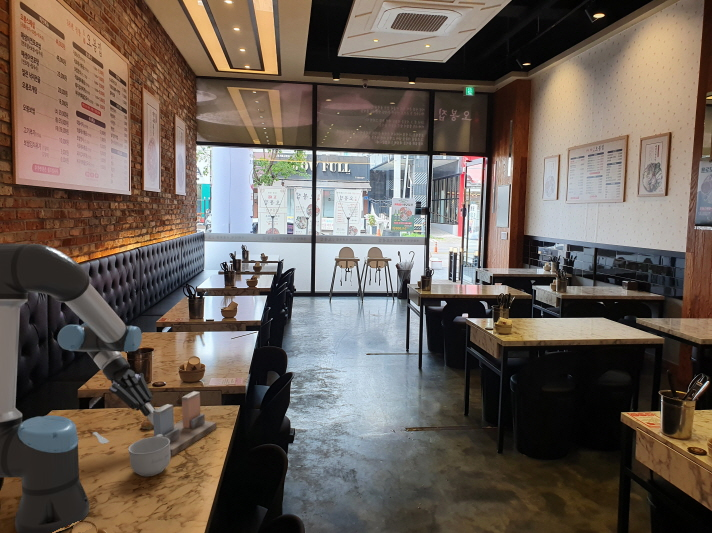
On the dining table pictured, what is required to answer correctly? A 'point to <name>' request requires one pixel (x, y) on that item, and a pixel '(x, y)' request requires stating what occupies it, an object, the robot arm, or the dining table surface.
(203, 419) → the taupe stand
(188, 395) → the pink upright block
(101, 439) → the butter knife
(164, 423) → the grey rectangular block
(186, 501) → the dining table surface
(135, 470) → the teacup
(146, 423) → the pastry
